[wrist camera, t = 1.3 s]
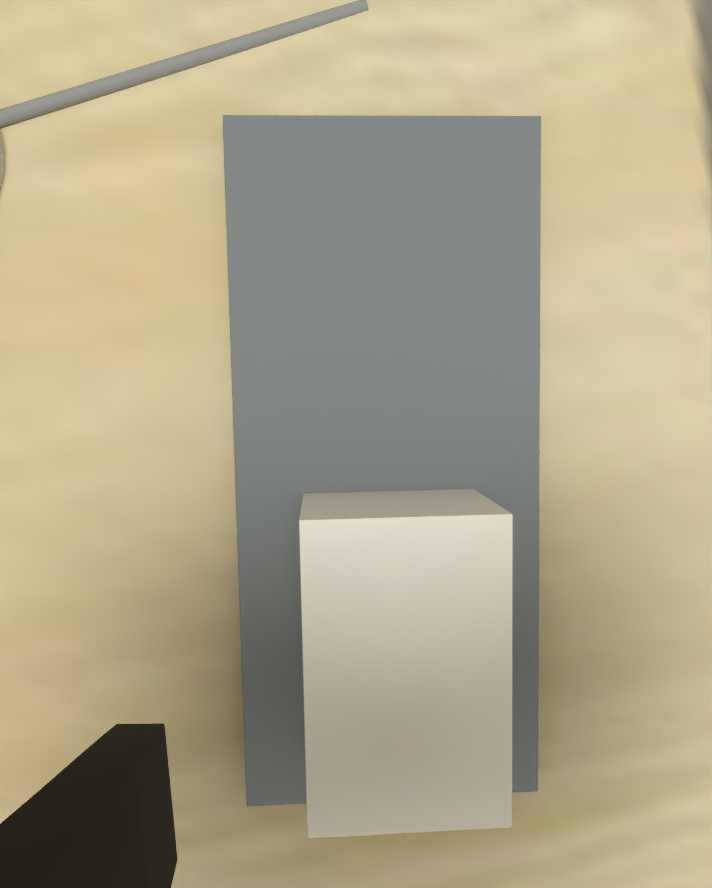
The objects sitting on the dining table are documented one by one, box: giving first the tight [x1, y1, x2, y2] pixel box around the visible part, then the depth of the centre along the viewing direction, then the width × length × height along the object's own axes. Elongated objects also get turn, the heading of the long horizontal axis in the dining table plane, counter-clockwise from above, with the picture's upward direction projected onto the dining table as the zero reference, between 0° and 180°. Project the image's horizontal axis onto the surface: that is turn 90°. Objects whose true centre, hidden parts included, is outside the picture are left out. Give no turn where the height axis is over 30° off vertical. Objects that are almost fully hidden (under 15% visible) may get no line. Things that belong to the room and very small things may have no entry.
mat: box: [223, 115, 541, 806], centre depth 17 cm, size 18×8×1 cm, turn 1°
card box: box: [299, 489, 513, 839], centre depth 16 cm, size 7×4×4 cm, turn 1°
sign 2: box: [0, 0, 368, 189], centre depth 16 cm, size 5×1×15 cm
